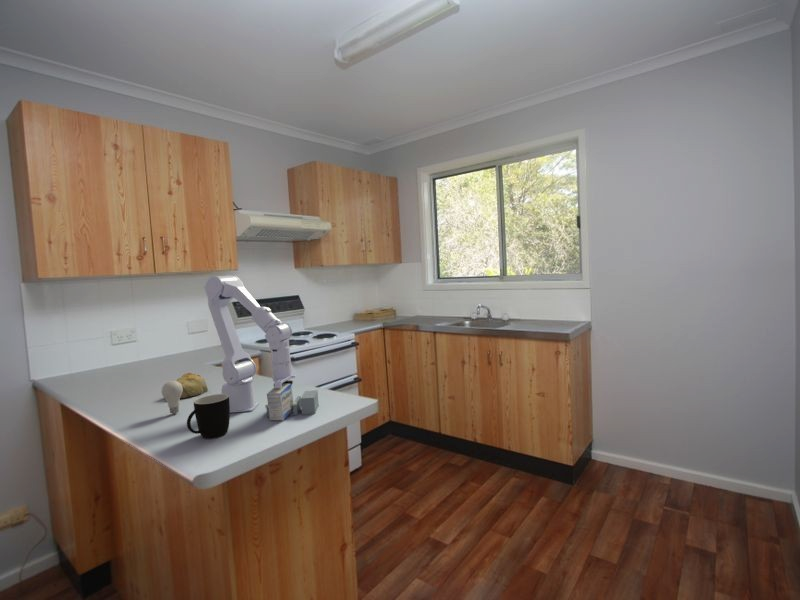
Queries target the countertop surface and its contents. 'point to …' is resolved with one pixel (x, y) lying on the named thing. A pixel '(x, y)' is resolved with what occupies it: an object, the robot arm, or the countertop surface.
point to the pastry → (192, 385)
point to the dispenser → (304, 403)
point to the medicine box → (280, 402)
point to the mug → (211, 415)
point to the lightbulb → (172, 395)
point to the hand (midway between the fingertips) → (285, 404)
